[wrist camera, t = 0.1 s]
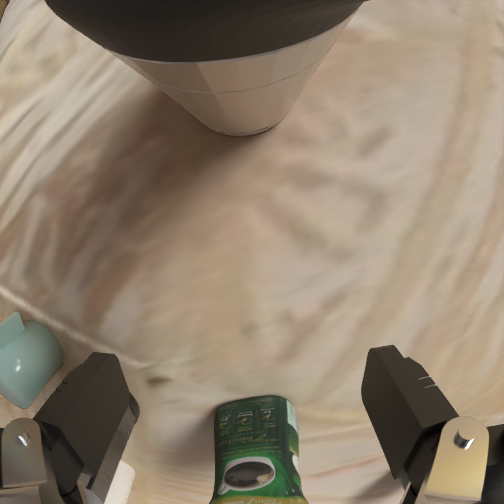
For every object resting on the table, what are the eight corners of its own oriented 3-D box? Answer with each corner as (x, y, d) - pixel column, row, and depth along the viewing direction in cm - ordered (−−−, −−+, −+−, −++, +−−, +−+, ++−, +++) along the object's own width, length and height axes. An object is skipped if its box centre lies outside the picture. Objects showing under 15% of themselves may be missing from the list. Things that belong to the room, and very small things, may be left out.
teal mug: (10, 302, 27) (-32, 334, 19) (46, 306, 27) (1, 344, 18) (34, 363, 30) (2, 400, 21) (71, 371, 30) (39, 415, 21)
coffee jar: (229, 437, 32) (220, 559, 15) (208, 400, 30) (185, 543, 12) (301, 425, 32) (320, 552, 14) (290, 386, 29) (311, 539, 12)
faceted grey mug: (65, 367, 30) (9, 443, 15) (127, 376, 30) (78, 474, 15) (95, 425, 33) (60, 497, 19) (152, 436, 33) (126, 520, 19)
